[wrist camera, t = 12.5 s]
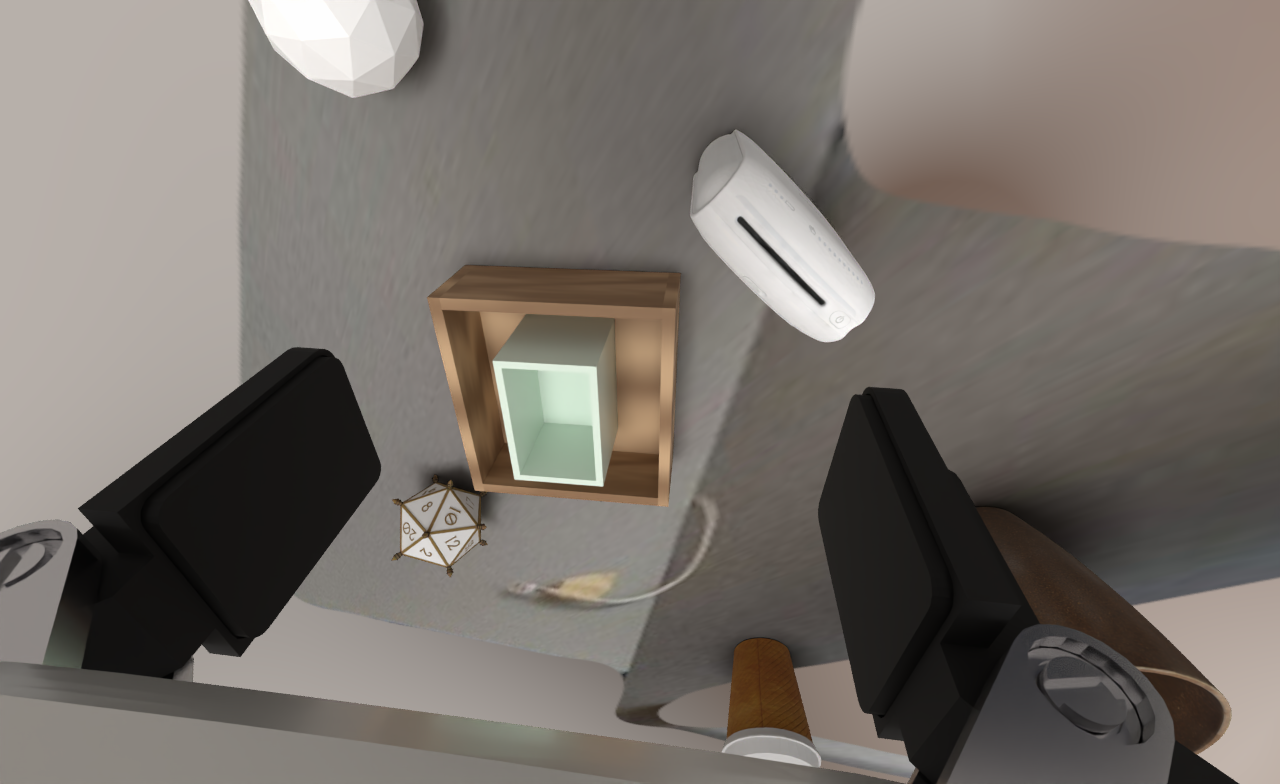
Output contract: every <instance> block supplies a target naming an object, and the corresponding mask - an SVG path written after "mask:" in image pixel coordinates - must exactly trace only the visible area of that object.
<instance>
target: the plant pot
mask: <svg viewBox="0 0 1280 784" xmlns="http://www.w3.org/2000/svg"><path fill="white" fill-rule="evenodd" d="M976 509H977V511H978V513H979V514H980V516H981V518H982V520H983V522H984V523H985V525H986V527H987V529H988V531H989V532H990V534H991V536H992V538H993V540H994V541H995V543H996V545H997V547H998V549H999V550H1000V552H1001V554H1002V556H1003V558H1004V559H1005V561H1006V563H1007V565H1008V567H1009V568H1010V570H1011V572H1012V574H1013V576H1014V577H1015V579H1016V581H1017V583H1018V585H1019V586H1020V588H1021V590H1022V592H1023V594H1024V595H1025V597H1026V599H1027V601H1028V603H1029V604H1030V606H1031V608H1032V610H1033V612H1034V613H1035V615H1036V617H1037V619H1038V621H1039V622H1040V624H1052V625H1060V626H1064V627H1068V628H1071V629H1075V630H1078V631H1081V632H1083V633H1085V634H1087V635H1089V636H1091V637H1093V638H1095V639H1097V640H1100V641H1102V642H1103V643H1105V644H1106V645H1108V646H1109V647H1111V648H1112V649H1114V650H1115V651H1116V652H1118V653H1119V654H1121V655H1122V656H1124V657H1125V658H1126V659H1128V660H1129V661H1130V662H1131V663H1132V664H1133V665H1134V666H1135V667H1136V668H1137V669H1138V670H1139V671H1140V672H1141V673H1142V674H1143V675H1145V676H1146V677H1147V678H1148V680H1149V681H1150V682H1151V684H1152V685H1153V686H1154V688H1155V689H1156V690H1157V692H1158V693H1159V694H1160V696H1161V697H1162V698H1163V700H1164V702H1165V704H1166V706H1167V709H1168V711H1169V713H1170V715H1171V717H1172V720H1173V723H1174V736H1175V740H1176V741H1178V742H1179V743H1181V744H1182V745H1184V746H1185V747H1187V748H1188V749H1189V750H1191V751H1192V752H1194V753H1195V754H1199V753H1201V752H1202V751H1204V750H1205V749H1207V748H1208V747H1210V746H1211V745H1213V744H1214V743H1215V742H1217V741H1218V740H1219V739H1220V738H1221V737H1222V736H1223V734H1224V733H1225V732H1226V730H1227V728H1228V727H1229V724H1230V721H1231V716H1232V715H1231V708H1230V705H1229V703H1228V701H1227V700H1226V698H1225V697H1224V696H1223V694H1222V693H1221V692H1220V691H1219V690H1217V689H1216V687H1215V686H1214V685H1213V684H1212V683H1210V682H1209V680H1208V679H1207V678H1205V676H1203V674H1202V673H1201V672H1200V671H1199V670H1198V669H1197V668H1196V667H1195V666H1194V665H1193V664H1192V663H1191V662H1190V661H1189V660H1188V659H1187V658H1186V657H1185V656H1184V655H1183V654H1182V653H1181V652H1180V651H1179V650H1178V649H1177V648H1176V647H1175V646H1174V645H1173V644H1172V643H1171V642H1170V641H1169V640H1167V638H1166V637H1165V636H1164V635H1163V634H1162V633H1161V632H1159V630H1158V629H1156V628H1155V627H1154V626H1153V625H1152V624H1151V623H1150V622H1149V621H1148V620H1147V619H1146V618H1145V617H1144V616H1143V615H1141V614H1140V613H1139V612H1138V611H1137V610H1136V609H1135V608H1134V607H1133V606H1132V605H1130V604H1129V603H1128V602H1127V601H1126V600H1125V599H1124V598H1122V597H1121V596H1120V595H1119V594H1118V593H1117V592H1116V591H1114V590H1113V589H1112V588H1111V587H1110V586H1109V585H1107V584H1106V583H1105V582H1104V581H1103V580H1101V579H1100V578H1099V577H1098V576H1097V575H1096V574H1094V573H1093V572H1092V571H1091V570H1089V569H1088V568H1087V567H1086V566H1085V565H1083V564H1082V563H1081V562H1079V561H1078V560H1077V559H1076V558H1074V557H1073V556H1072V555H1071V554H1069V553H1068V552H1067V551H1065V550H1064V549H1063V548H1061V547H1060V546H1059V545H1057V544H1056V543H1055V542H1053V541H1052V540H1050V539H1049V538H1048V537H1046V536H1045V535H1044V534H1042V533H1041V532H1039V531H1038V530H1036V529H1035V528H1033V527H1032V526H1030V525H1029V524H1027V523H1026V522H1024V521H1023V520H1021V519H1020V518H1018V517H1017V516H1015V515H1014V514H1012V513H1010V512H1008V511H1006V510H1003V509H1000V508H995V507H976Z"/></svg>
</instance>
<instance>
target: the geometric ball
mask: <svg viewBox="0 0 1280 784" xmlns="http://www.w3.org/2000/svg"><path fill="white" fill-rule="evenodd" d="M248 1H249V3H250V4H251V6H252V8H253V10H254V12H255V14H256V16H257V18H258V20H259V22H260V24H261V26H262V28H263V30H264V32H265V34H266V35H267V37H268V39H269V41H270V43H271V44H272V46H273V48H274V50H275V51H276V52H277V53H279V54H280V55H281V56H282V57H283V58H284V59H285V60H287V61H288V62H289V63H290V64H291V65H292V66H293V67H295V68H296V69H297V70H298V71H299V72H300V73H301V74H303V75H304V76H305V77H306V78H307V79H309V80H312V81H314V82H316V83H319V84H321V85H324V86H326V87H328V88H331V89H333V90H335V91H338V92H340V93H342V94H345V95H347V96H349V97H352V98H355V97H360V96H364V95H369V94H373V93H378V92H382V91H386V90H391V89H394V88H395V86H396V85H397V84H398V83H399V82H400V81H401V80H402V78H403V77H404V76H405V75H406V74H407V73H408V71H409V70H410V69H411V68H412V66H413V65H414V63H415V62H416V60H417V59H418V58H419V53H420V46H421V39H422V32H423V25H424V23H423V20H422V16H421V13H420V10H419V7H418V3H417V0H248Z"/></svg>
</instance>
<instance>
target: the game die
mask: <svg viewBox="0 0 1280 784" xmlns="http://www.w3.org/2000/svg"><path fill="white" fill-rule="evenodd" d="M432 479H433V482H434V484H432V485H430V486H429V487H427V488H426V489H424V490H422V491H421V492H419V493H417V494H416V495H414V496H412V497H411V498H409V499H408V500H406V501H404V502H402V501H401V500H399V499H393V502H394V504H397V505H400V506H401V512H400V552H399V553H396V554H395V555H394V556H393V558H392V561H393V560H398V559H399V558H400V557H401V556H402V555H404V556H408V557H411V558H415V559H418V560H422V561H425V562H429V563H432V564H436V565H439V566H443V567H446V568H447V574H448V575H449V576H450V577H451V575H452V573H453V571H452V570H453V569H452V568H451V566H452V565H453V564H454V563H456V562H457V561H458V560H459V559H460V558H462V557H463V556H464V555H465V554H466V553H467V552H469V551H470V550H471V549H472V548H473V547H474V546H476V545H477V544H478V543H480V545H482V546H484V545H487V543H486V541H485V540H481V530H484V529H485V528H487V527H486V526H485V525H484V524H481V497H482V496H484V495H486V493H487V492H486V491H482V492H480V494H475V493H472V492H469V491H465V490H462V489H459V488H455V487H452V486H453V484H454V483H453V482H452V480H450V481H449V482H447V485H445V484H442V483H438V477H437V476H436V475H434V477H433V478H432Z"/></svg>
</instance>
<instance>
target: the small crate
mask: <svg viewBox="0 0 1280 784" xmlns="http://www.w3.org/2000/svg"><path fill="white" fill-rule="evenodd" d="M493 366H494V372H495V377H496V382H497V388H498V393H499V399H500V404H501V409H502V415H503V420H504V426H505V431H506V437H507V442H508V447H509V453H510V458H511V464H512V469H513V474H514V479H515V480H527V481H539V482H552V483H564V484H576V485H589V486H601V487H603V486H604V482H605V478H606V474H607V470H608V466H609V462H610V458H611V454H612V450H613V446H614V442H615V438H616V434H617V430H618V411H617V381H616V350H615V319H614V318H601V317H580V316H559V315H538V314H526V315H525V316H524V318H523V319H522V320H521V322H520V323H519V325H518V326H517V327H516V329H515V330H514V332H513V333H512V334H511V336H510V337H509V339H508V340H507V341H506V343H505V344H504V345H503V347H502V348H501V350H500V351H499V352H498V354H497V355H496V357H495V358H494V359H493Z"/></svg>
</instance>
